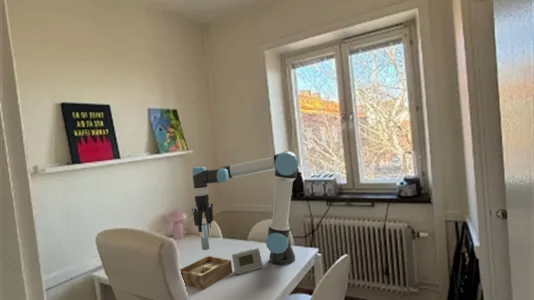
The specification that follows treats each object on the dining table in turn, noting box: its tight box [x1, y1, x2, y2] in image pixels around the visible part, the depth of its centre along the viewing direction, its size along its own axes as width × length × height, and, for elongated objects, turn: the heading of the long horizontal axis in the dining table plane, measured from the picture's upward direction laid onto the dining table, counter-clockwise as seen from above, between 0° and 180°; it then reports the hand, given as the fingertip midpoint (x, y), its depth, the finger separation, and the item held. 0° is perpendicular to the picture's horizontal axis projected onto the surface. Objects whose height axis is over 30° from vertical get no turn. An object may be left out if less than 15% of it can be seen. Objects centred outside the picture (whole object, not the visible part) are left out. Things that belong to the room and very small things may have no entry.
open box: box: [179, 255, 233, 291], centre depth 174 cm, size 18×22×7 cm
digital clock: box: [231, 247, 263, 275], centre depth 180 cm, size 16×9×11 cm, turn 101°
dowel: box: [200, 222, 210, 251], centre depth 181 cm, size 4×4×14 cm
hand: (205, 235), depth 180 cm, fingers closed on dowel, 4 cm apart
